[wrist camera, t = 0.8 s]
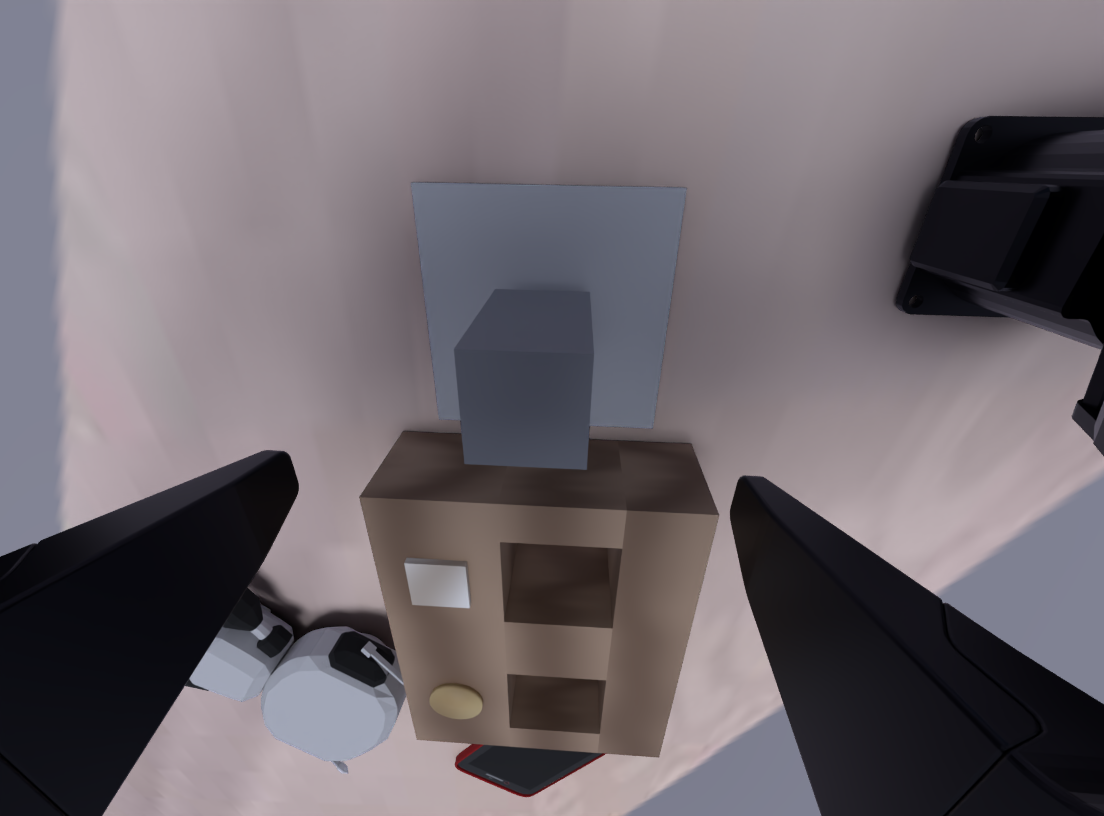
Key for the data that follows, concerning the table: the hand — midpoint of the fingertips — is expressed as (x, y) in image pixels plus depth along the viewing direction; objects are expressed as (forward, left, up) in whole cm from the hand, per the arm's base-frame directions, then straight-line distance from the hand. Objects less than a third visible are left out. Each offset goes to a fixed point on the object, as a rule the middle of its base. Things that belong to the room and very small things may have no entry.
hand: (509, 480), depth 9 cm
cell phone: (0, +34, -12) cm, 36 cm away
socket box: (0, +15, -11) cm, 19 cm away
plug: (0, 0, -11) cm, 11 cm away
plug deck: (0, 0, -11) cm, 11 cm away
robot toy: (+16, +23, -12) cm, 30 cm away
